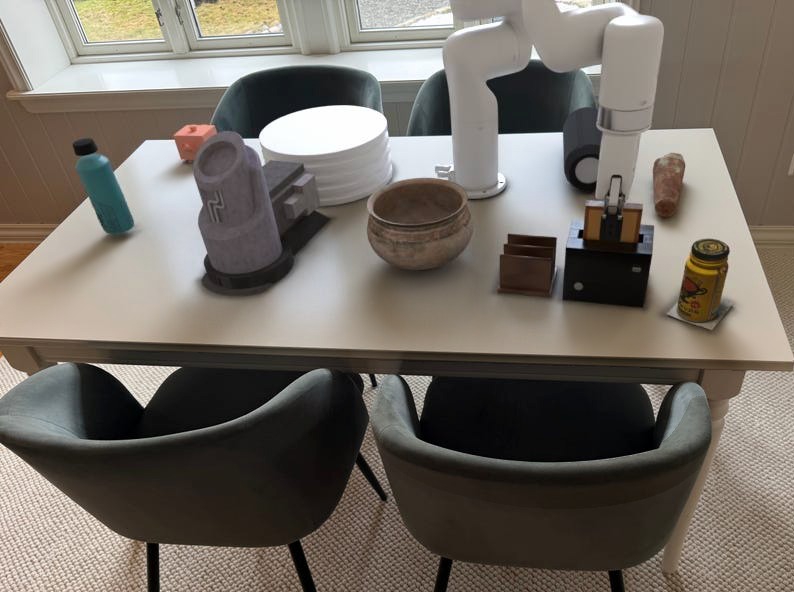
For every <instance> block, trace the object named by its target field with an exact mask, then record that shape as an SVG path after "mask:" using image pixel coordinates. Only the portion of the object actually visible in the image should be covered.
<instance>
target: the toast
mask: <svg viewBox="0 0 794 592" xmlns="http://www.w3.org/2000/svg"><path fill="white" fill-rule="evenodd" d="M604 201H605V200H591V199H589V200H588V199H587V200H586V201H585V206H584V207H585V208H584V219H583V220H584V229H583V239H592V240H599V232H600V222H601V215H603V209H604ZM608 206H609V202H608ZM619 206H620V202H618V205H617V207H619ZM643 211H644V203H640V202H639V203H637V202H626V203H623V211H622V217H623V225H622V233H621V240H620V241H619V242H631V243H638V239H639V232H640V225H642V218H643Z"/></svg>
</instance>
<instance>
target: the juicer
mask: <svg viewBox="0 0 794 592" xmlns="http://www.w3.org/2000/svg"><path fill="white" fill-rule="evenodd" d="M192 175H193V178H194V181H195V185H196V187H197V190H198V194H199V196H200V200H201V203H202V206H201V209H200V210H199V213H198V218H197V226H198V229H199V232H200V236H201V238H202V241H203V244H204V247H205V250H206V255H205V257H204V258H203V267H204V269H205V273H204V274H203V276H202V278H201V279H200V281H201V284H202V286H204V288H205V289H206V290H208V291H209V292H211V293H213V294H217V295H221V296H227V297H244V296H245V297H246V296H251V295H252V296H253V295H257V294H261V293H265V292H266V291H267V290H268V289H269V288H270V286H271V285H274V284H275V283H277V282H279V281H280V280H282V279H284V277H287V275H288V274H289V273H290V272H291V270H292V269H293V267H294V264H295V258H294V257H295V256H296V255H297V254H298V253H299V252H300V251H301V250H302V248H304V247H305V246H306V244H308V242H310V240H312V239H313V237H315V235H317V234H318V232H319V231H320V230H322V229H323V228H324V226H326V224H328V222H329V221H330V220H331V218H329V217H328V216H326V215H325V214H323V213H321V212H319V211H317V210H316V209H317V208H318V207H320V206H319V205H320V200H319V195H318V190H317V185H316V180H315V175H311V174H308V172H307V170H306V169H305V168H304V164H303V163H294V162H284V161H275V160H270V161H269V162H267V163H266V164H265V163H264V164H263V165H262V161H261V157H260V155H259V153H258V151H257V150H255V148H253V147H251V146H250V145H247V144H245V141H244V138H243V137H242V136H241V135H240V134H239V133H237V132H236V131H232V130H223V131H219V132H217V134H215V135H213V136H212V137H210V138H209V139H208V140H206V142H205V143H204V144H203V145H202V146H201V147H200V149H199V150H198V152H197V154H196V157H195V159H194V162H192Z"/></svg>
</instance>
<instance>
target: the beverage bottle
mask: <svg viewBox="0 0 794 592" xmlns="http://www.w3.org/2000/svg"><path fill="white" fill-rule="evenodd" d="M71 145H72V148H73V152H74V155H76V156H78V157H80V158H79V159H78V160H77V162H76V164H75V171H76V172H77V173H78V176H79V179H80V181H81V182H82V185H83V188H84V191H85V193H86V194H87V197H88V199H89V202H90V204H91V206H92V209H93V210H94V213H95V216H96V218H97V220H98V222H99V224H100V226H101V228H102V231H104V232H105V233H106V234H108V235H118V234H122V233H126V232H127V231H130V230H131V229H133V227H134V226H135V219H134V216H133V214H132V211H131V209H130V207H129V204H128V202H127V201H126V197H125V195H124V192H123V190H122V188H121V185H120V184H119V182H118V179H117V177H116V174H115V172H114V170H113V168H112V165H111V163H110V160H109V158H108V157H107V156H105V155H103V154H101V153H100V154H99V153H96V152H97V151H98V150H99V148H98V146H97V144H96V142H95V140H94V139H93V138H92V137H91V138H90V137H84V138H80V139H77V140H75V141H74V142H72V144H71Z"/></svg>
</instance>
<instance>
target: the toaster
mask: <svg viewBox="0 0 794 592" xmlns="http://www.w3.org/2000/svg"><path fill="white" fill-rule="evenodd" d="M583 229H584V219H583V220H582V219H572V220H571V224H570V228H569V232H568V237H567V240H566V244H565V250H564V251H565V253H564V265H563V266H564V268H563V279H562V281H563V282H562V296H561V299H562V301H569V302H571V301H572V302H579V303H580V302H581V303H591V304H599V305H609V306H610V305H611V306H619V307H631V308H638V309H639V308H641V309H644V307H645V302H646V297H647V296H646V295H647V291H648V285H649V284H648V283H649V277H650V271H651V264H652V261H653V251H654V237H655V225H653V224H641V225H640V232H639V239H638V243H631V242H612V241H600V240H592V239H583Z"/></svg>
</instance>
